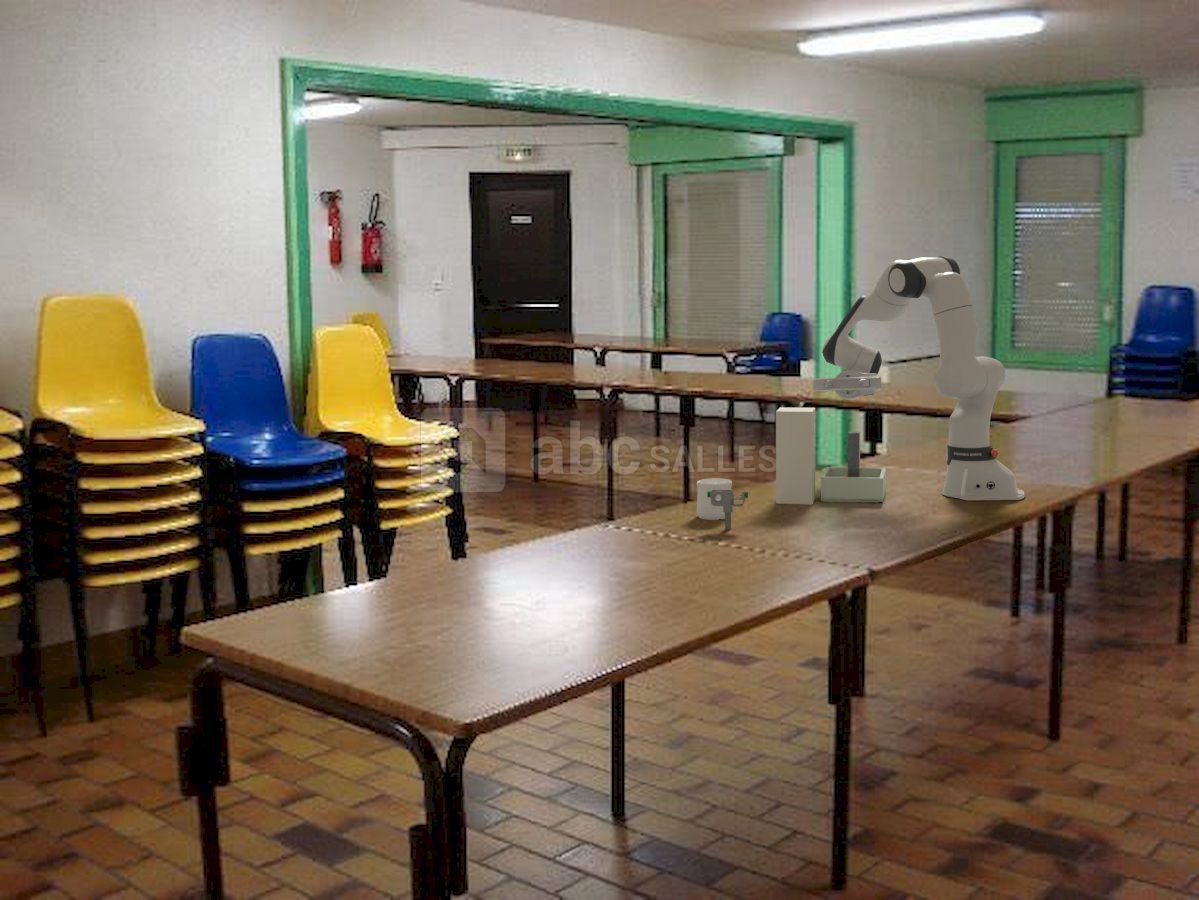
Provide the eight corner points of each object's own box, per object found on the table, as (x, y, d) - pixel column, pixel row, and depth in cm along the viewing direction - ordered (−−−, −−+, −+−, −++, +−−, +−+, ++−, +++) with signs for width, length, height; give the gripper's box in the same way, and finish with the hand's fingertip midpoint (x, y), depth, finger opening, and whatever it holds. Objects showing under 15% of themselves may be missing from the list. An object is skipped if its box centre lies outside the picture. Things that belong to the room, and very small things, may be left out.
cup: (731, 512, 359) (731, 477, 357) (733, 520, 349) (732, 484, 348) (696, 513, 360) (696, 477, 358) (697, 520, 350) (696, 484, 348)
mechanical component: (747, 530, 336) (747, 492, 334) (707, 529, 338) (706, 491, 336) (748, 528, 339) (748, 489, 337) (708, 527, 341) (708, 489, 339)
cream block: (815, 498, 376) (815, 407, 372) (812, 504, 367) (812, 411, 363) (780, 497, 378) (779, 407, 374) (776, 503, 370) (775, 411, 366)
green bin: (885, 491, 383) (885, 468, 382) (882, 503, 367) (882, 478, 366) (826, 490, 387) (826, 466, 386) (820, 501, 371) (821, 477, 370)
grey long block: (864, 431, 375) (863, 434, 371) (864, 492, 378) (862, 495, 373) (844, 431, 377) (843, 433, 372) (844, 491, 379) (842, 494, 375)
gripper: (814, 375, 406) (810, 373, 393) (882, 373, 401) (880, 371, 388) (814, 396, 406) (810, 394, 393) (882, 394, 401) (880, 392, 388)
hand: (845, 382), depth 390 cm, fingers open, 8 cm apart
